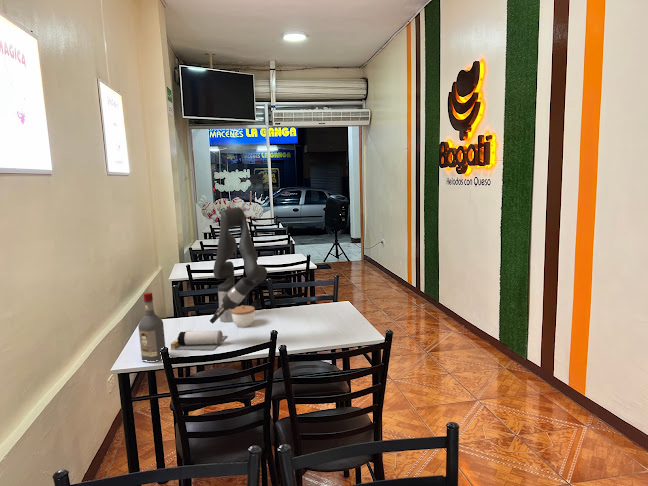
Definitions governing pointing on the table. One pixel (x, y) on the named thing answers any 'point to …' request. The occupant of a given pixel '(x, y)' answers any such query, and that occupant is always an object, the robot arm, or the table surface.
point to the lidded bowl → (243, 315)
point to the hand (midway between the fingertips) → (211, 321)
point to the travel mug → (200, 337)
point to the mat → (200, 346)
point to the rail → (175, 344)
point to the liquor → (151, 332)
